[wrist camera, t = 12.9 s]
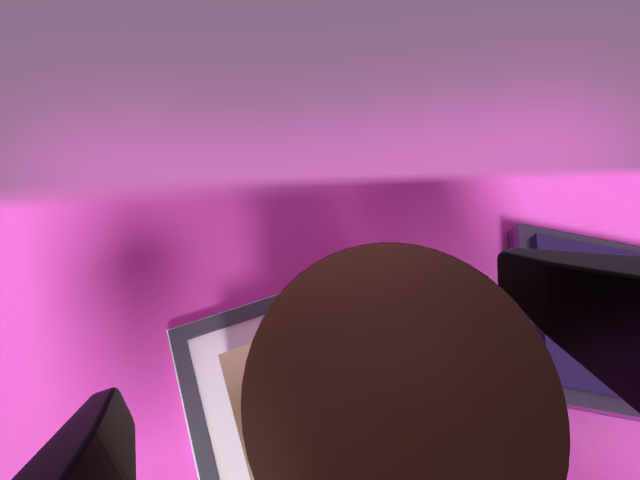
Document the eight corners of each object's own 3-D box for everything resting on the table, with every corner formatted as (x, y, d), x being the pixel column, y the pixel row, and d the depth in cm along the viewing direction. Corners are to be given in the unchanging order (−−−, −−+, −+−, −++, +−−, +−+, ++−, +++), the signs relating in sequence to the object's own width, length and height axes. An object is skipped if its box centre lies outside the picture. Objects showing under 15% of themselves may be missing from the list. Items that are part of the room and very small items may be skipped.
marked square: (488, 491, 15) (494, 493, 15) (231, 622, 13) (229, 630, 12) (381, 261, 19) (384, 257, 18) (167, 331, 17) (164, 328, 16)
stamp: (425, 465, 15) (730, 547, 5) (274, 537, 14) (255, 860, 3) (363, 318, 17) (483, 161, 7) (228, 367, 16) (135, 260, 6)
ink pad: (700, 433, 17) (734, 433, 15) (516, 398, 17) (535, 396, 15) (660, 261, 20) (685, 250, 19) (507, 232, 20) (523, 219, 19)
